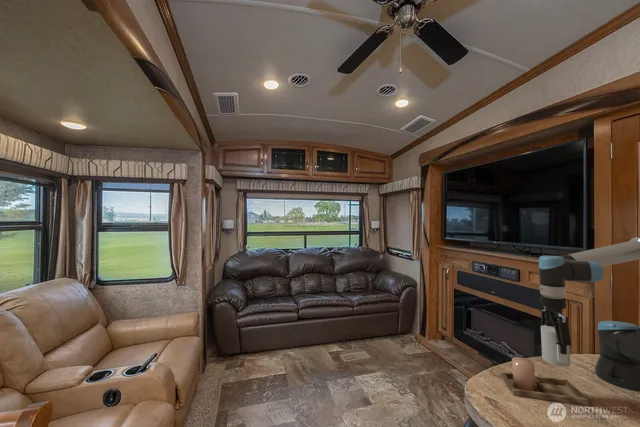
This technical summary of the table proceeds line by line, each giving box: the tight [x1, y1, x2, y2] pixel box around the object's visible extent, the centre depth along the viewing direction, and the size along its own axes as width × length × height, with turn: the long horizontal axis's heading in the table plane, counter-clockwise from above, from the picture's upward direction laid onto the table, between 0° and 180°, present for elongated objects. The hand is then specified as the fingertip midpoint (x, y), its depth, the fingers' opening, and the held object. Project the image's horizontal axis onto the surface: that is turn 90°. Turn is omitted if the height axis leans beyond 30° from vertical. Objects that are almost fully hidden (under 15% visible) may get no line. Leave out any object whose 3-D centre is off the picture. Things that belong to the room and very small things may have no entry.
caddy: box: [500, 371, 590, 407], centre depth 104 cm, size 23×13×2 cm, turn 74°
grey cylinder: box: [540, 325, 571, 367], centre depth 103 cm, size 8×8×12 cm
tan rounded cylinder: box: [511, 356, 536, 392], centre depth 105 cm, size 7×7×10 cm
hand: (555, 356), depth 103 cm, fingers closed on grey cylinder, 8 cm apart
